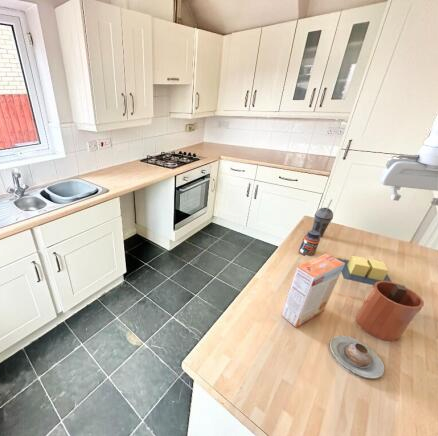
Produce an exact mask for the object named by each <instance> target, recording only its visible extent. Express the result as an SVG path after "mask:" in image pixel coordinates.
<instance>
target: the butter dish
mask: <svg viewBox="0 0 438 436" xmlns="http://www.w3.org/2000/svg"><path fill="white" fill-rule="evenodd" d="M336 259H338V260H340V261H342V262H344V263H345V265H344V267H343V269H342V272H341V275H342V278H343V279H344V280H349V281H353V282H357V283H362V284H367V285H369V286H370V285H371V286H374V284H375V283H376V282H378V281H380V280H376V279H371V278H368V276H367V274H366V275H365V277H362V276H358V275H353V274H350V271H349V269H348V266H347V264H348V262H349V260H350V259H346V258H345V259H344V258H339V257H336ZM383 281H389V282H393V281H392V280H391V278H390V276H389V274H387V275H386V276H385V278H384V280H383Z"/></svg>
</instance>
